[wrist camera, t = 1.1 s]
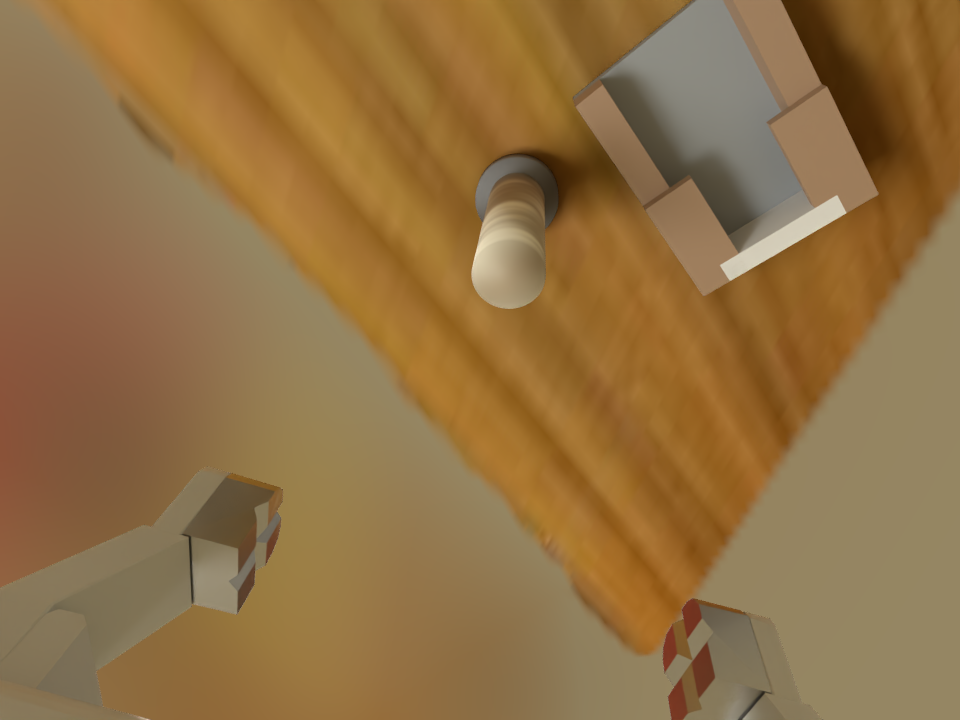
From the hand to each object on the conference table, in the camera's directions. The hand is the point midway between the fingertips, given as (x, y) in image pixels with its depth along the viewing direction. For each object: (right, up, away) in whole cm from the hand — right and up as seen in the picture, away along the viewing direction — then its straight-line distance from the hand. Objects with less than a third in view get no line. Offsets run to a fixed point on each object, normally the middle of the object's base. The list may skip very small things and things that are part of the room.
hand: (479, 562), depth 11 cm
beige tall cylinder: (+3, +16, +32) cm, 36 cm away
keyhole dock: (+16, +19, +28) cm, 38 cm away
